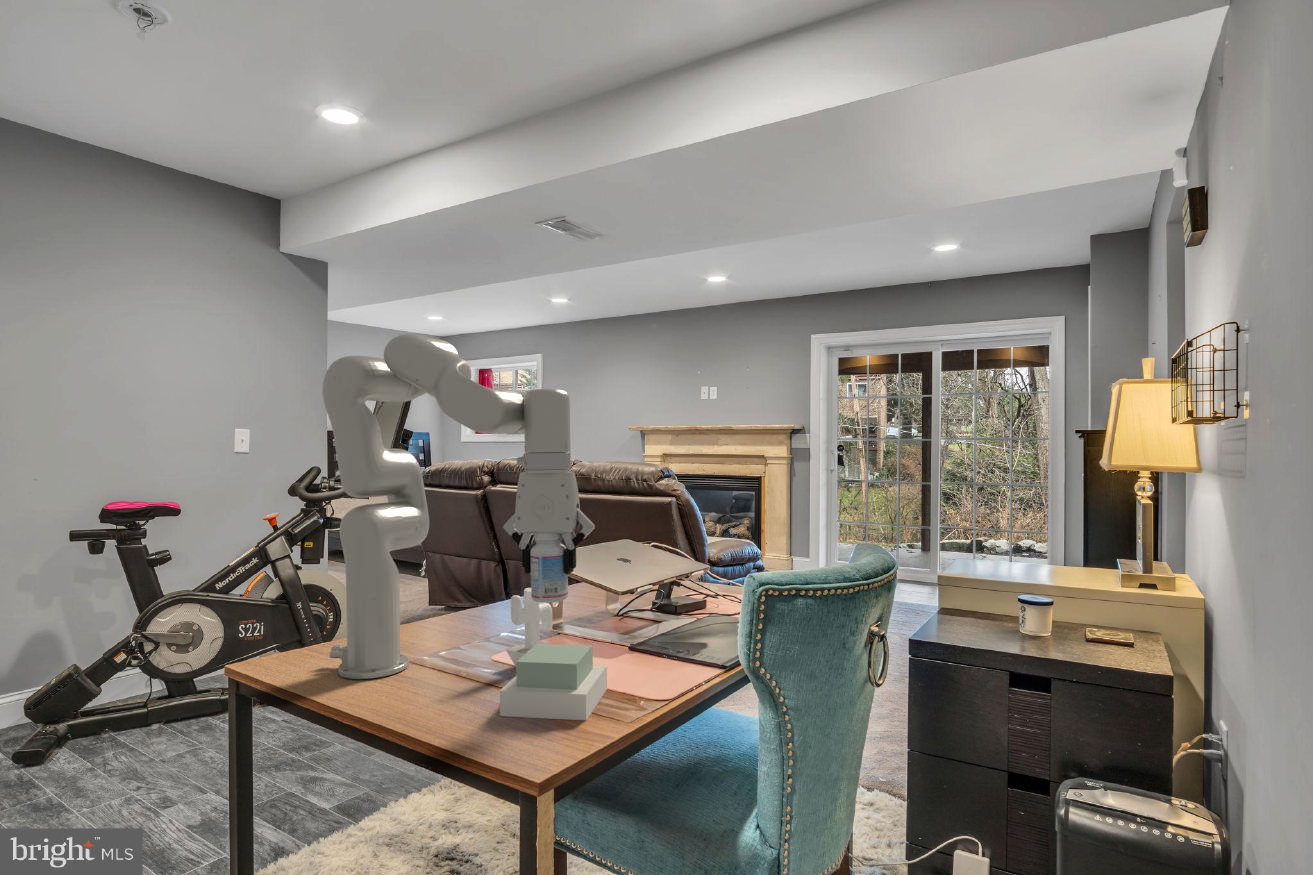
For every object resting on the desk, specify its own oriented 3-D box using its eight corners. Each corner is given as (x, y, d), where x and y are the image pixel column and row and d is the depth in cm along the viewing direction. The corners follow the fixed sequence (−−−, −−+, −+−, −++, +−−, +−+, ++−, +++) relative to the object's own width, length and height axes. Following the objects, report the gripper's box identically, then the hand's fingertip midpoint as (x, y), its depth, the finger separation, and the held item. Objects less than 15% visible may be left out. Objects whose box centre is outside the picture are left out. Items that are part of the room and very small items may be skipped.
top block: (516, 686, 112) (516, 661, 112) (536, 666, 122) (536, 643, 122) (577, 689, 111) (576, 663, 111) (592, 669, 120) (592, 645, 120)
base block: (500, 715, 110) (499, 690, 111) (530, 685, 124) (529, 662, 124) (586, 720, 108) (586, 694, 108) (607, 688, 122) (606, 665, 122)
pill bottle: (573, 596, 118) (572, 529, 118) (559, 604, 112) (559, 534, 112) (539, 594, 120) (539, 528, 120) (524, 602, 114) (524, 533, 114)
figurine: (563, 663, 136) (562, 586, 136) (526, 677, 129) (525, 595, 129) (537, 657, 141) (537, 582, 141) (500, 669, 133) (500, 590, 133)
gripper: (489, 465, 114) (491, 575, 114) (592, 464, 111) (594, 577, 111) (507, 463, 121) (508, 567, 121) (604, 462, 118) (605, 569, 118)
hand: (549, 571), depth 116 cm, fingers closed on pill bottle, 6 cm apart
